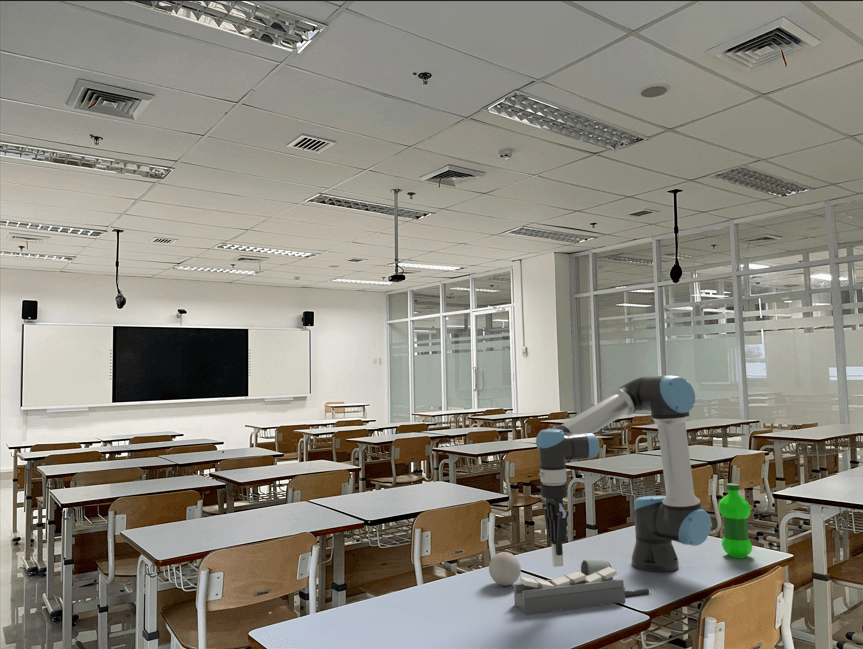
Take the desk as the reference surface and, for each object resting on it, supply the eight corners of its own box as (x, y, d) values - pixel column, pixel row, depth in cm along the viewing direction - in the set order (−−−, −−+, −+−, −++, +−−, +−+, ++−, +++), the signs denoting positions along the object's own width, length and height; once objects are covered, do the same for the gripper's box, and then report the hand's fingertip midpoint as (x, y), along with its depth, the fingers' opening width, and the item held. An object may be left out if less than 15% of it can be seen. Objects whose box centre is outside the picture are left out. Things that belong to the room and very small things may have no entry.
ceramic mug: (615, 587, 195) (613, 561, 196) (590, 589, 194) (588, 563, 194) (600, 577, 205) (599, 552, 206) (576, 579, 204) (575, 554, 205)
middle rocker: (579, 575, 186) (578, 570, 186) (586, 579, 182) (585, 574, 182) (552, 584, 184) (551, 579, 184) (558, 589, 180) (557, 584, 180)
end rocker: (547, 586, 184) (548, 581, 184) (553, 591, 179) (554, 586, 180) (519, 581, 182) (520, 576, 182) (525, 585, 177) (526, 580, 178)
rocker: (610, 570, 189) (608, 566, 189) (617, 575, 184) (616, 570, 184) (583, 581, 186) (582, 577, 186) (591, 586, 182) (589, 581, 182)
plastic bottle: (724, 550, 230) (719, 481, 232) (756, 554, 224) (751, 483, 226) (718, 557, 222) (713, 485, 224) (751, 561, 216) (746, 487, 218)
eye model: (491, 579, 206) (490, 547, 207) (522, 580, 204) (521, 548, 205) (487, 589, 196) (486, 556, 197) (520, 590, 194) (519, 557, 195)
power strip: (640, 589, 193) (639, 568, 193) (655, 597, 185) (654, 576, 185) (514, 604, 183) (513, 583, 183) (525, 614, 175) (524, 592, 175)
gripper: (532, 480, 190) (537, 560, 188) (551, 488, 177) (555, 573, 175) (555, 478, 192) (560, 557, 190) (575, 485, 179) (580, 570, 177)
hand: (558, 565), depth 183 cm, fingers closed
